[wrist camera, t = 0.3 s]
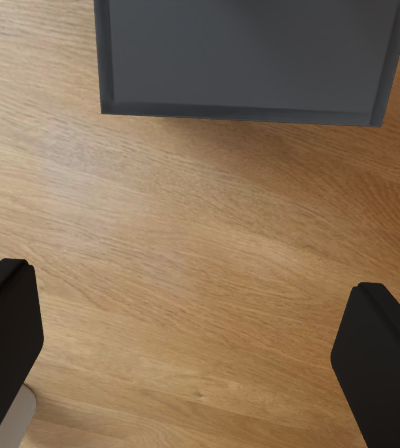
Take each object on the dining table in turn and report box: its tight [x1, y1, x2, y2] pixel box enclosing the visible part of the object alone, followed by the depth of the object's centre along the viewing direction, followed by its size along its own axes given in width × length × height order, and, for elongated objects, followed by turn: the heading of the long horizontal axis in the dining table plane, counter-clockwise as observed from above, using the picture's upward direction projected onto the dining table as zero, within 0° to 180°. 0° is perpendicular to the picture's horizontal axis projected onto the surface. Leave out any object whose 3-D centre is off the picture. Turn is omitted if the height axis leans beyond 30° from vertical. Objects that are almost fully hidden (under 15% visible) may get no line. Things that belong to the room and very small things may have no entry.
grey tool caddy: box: [94, 0, 400, 127], centre depth 18 cm, size 18×15×9 cm
